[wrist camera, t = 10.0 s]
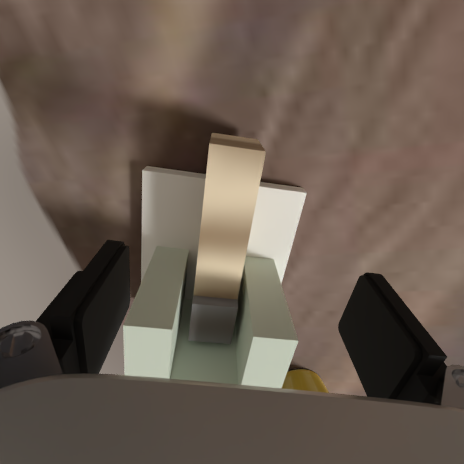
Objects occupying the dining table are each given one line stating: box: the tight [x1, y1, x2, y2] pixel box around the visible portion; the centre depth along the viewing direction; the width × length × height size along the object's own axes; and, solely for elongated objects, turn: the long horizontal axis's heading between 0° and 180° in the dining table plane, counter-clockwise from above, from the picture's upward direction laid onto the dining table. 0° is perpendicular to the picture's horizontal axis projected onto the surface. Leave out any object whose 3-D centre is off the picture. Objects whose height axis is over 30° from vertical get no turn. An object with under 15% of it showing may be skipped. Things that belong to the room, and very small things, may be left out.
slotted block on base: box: [123, 166, 307, 388], centre depth 23 cm, size 15×14×12 cm
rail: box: [188, 133, 266, 344], centre depth 23 cm, size 16×4×6 cm, turn 172°
